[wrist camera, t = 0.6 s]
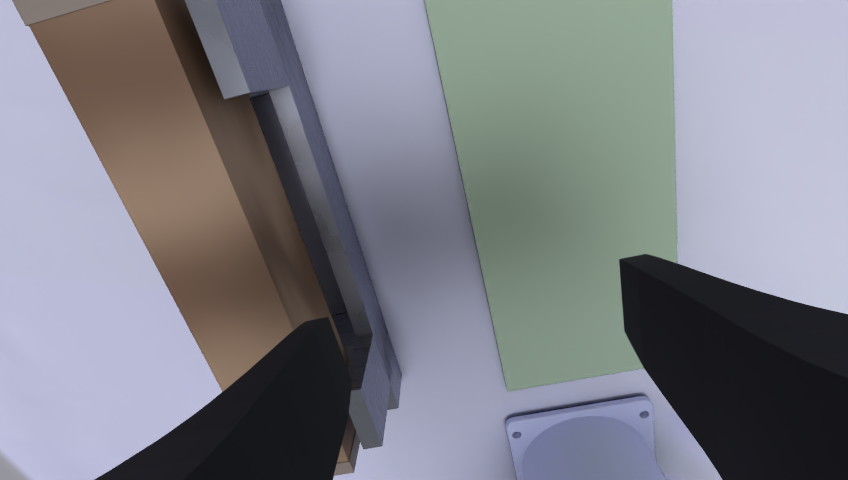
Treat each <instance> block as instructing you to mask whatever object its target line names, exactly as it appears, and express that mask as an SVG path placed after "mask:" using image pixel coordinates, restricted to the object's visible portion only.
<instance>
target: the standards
mask: <svg viewBox="0 0 848 480" xmlns="http://www.w3.org/2000/svg"><path fill="white" fill-rule="evenodd" d="M185 2H186V4H187V7H188V10H189V12H190V15H191V17H192V20H193V22H194V25H195V27H196V30H197V32H198V35H199V37H200V40H201V42H202V45H203V47H204V50H205V52H206V55H207V57H208V60H209V62H210V65H211V67H212V70H213V72H214V75H215V77H216V80H217V82H218V85H219V87H220V90H221V92H222V95H223V98H224V99H229V98H234V97H240V96H245V95H249V98H252V97H255V96H259V95H263V94H267V93H269V94H270V97H271V100H272V103H273V105H274V108H275V111H276V114H277V117H278V119H279V122H280V125H281V128H282V130H283V133H284V136H285V139H286V142H287V144H288V147H289V150H290V153H291V156H292V158H293V161H294V164H295V167H296V170H297V172H298V175H299V178H300V181H301V184H302V186H303V189H304V192H305V195H306V197H307V200H308V203H309V206H310V209H311V211H312V214H313V217H314V220H315V223H316V225H317V228H318V231H319V234H320V237H321V239H322V242H323V245H324V248H325V251H326V253H327V256H328V259H329V262H330V264H331V267H332V270H333V273H334V276H335V278H336V281H337V284H338V287H339V290H340V292H341V295H342V298H343V301H344V304H345V306H346V309H347V312H348V313H343V314H338V315H333V316H332V319H333V321H334V324H335V327H336V329H337V332H338V335H339V337H340V340H341V343H342V345H343V348H344V351H345V353H346V356H347V359H348V361H349V366H348V371H349V374H350V376H351V379H352V387H351V397H350V406H349V414H350V417H351V419H352V422H353V424H354V427H355V429H356V432H357V434H358V437H359V439H360V442H361V445H362V447H363V449H368V448H374V447H380V446H382V444H383V437H384V429H385V422H386V414H387V410H390V409H396V408H398V407H399V397H400V387H401V377H402V375H401V372H400V369H399V366H398V363H397V359H396V356H395V353H394V350H393V347H392V344H391V341H390V338H389V335H388V332H387V329H386V325H385V322H384V319H383V316H382V313H381V310H380V307H379V304H378V301H377V298H376V295H375V292H374V288H373V285H372V282H371V279H370V276H369V273H368V270H367V267H366V264H365V261H364V258H363V254H362V251H361V248H360V245H359V242H358V239H357V236H356V233H355V230H354V227H353V224H352V220H351V217H350V214H349V211H348V208H347V205H346V202H345V199H344V196H343V193H342V190H341V187H340V183H339V180H338V177H337V174H336V171H335V168H334V165H333V162H332V159H331V156H330V153H329V149H328V146H327V143H326V140H325V137H324V134H323V131H322V128H321V125H320V122H319V119H318V115H317V112H316V109H315V106H314V103H313V100H312V97H311V94H310V91H309V88H308V85H307V81H306V78H305V75H304V72H303V69H302V66H301V63H300V60H299V57H298V54H297V51H296V48H295V44H294V41H293V38H292V35H291V32H290V29H289V26H288V23H287V20H286V17H285V14H284V10H283V7H282V4H281V1H280V0H185Z"/></svg>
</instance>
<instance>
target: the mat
mask: <svg viewBox="0 0 848 480" xmlns="http://www.w3.org/2000/svg"><path fill="white" fill-rule="evenodd" d="M425 5H426V9H427V14H428V19H429V24H430V28H431V33H432V38H433V42H434V47H435V52H436V57H437V61H438V66H439V71H440V76H441V80H442V85H443V90H444V94H445V99H446V104H447V109H448V113H449V118H450V123H451V127H452V132H453V137H454V142H455V146H456V151H457V156H458V160H459V165H460V170H461V175H462V179H463V184H464V189H465V194H466V198H467V203H468V208H469V212H470V217H471V222H472V227H473V231H474V236H475V241H476V245H477V250H478V255H479V260H480V264H481V269H482V274H483V278H484V283H485V288H486V293H487V297H488V302H489V307H490V312H491V316H492V321H493V326H494V330H495V335H496V340H497V345H498V349H499V354H500V359H501V363H502V368H503V373H504V378H505V382H506V387H507V391H508V392H509V391H515V390H521V389H526V388H532V387H538V386H544V385H550V384H556V383H561V382H567V381H573V380H579V379H585V378H590V377H596V376H602V375H608V374H614V373H619V372H625V371H631V370H637V369H643V368H644V367H643V365H642V364H641V362H640V360H639V358H638V356H637V354H636V353H635V351H634V349H633V347H632V345H631V343H630V341H629V339H628V337H627V335H626V333H625V331H624V319H623V306H622V293H621V279H620V266H619V259H622V258H628V257H633V256H638V255H643V254H648V255H652V256H656V257H659V258H662V259H665V260H668V261H671V262H674V263H677V216H676V166H675V116H674V66H673V16H672V0H425Z"/></svg>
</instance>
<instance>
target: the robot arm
mask: <svg viewBox="0 0 848 480" xmlns="http://www.w3.org/2000/svg"><path fill="white" fill-rule="evenodd" d="M619 266H620V279H621V293H622V306H623V319H624V331H625V333H626V335H627V337H628V339H629V341H630V343H631V345H632V347H633V349H634V351H635V353H636V354H637V356H638V358H639V360H640V362H641V364H642V365H643V367H644V369H645V370H646V371H647V373H648V374H649V376H650V377H651V378H652V380H653V381H654V383H655V384H656V385H657V387H658V388H659V390H660V391H661V392H662V394H663V395H664V397H665V398H666V399H667V401H668V402H669V403H670V405H671V406H672V408H673V409H674V410H675V412H676V413H677V414H678V416H679V417H680V419H681V420H682V421H683V423H684V424H685V425H686V427H687V428H688V430H689V431H690V432H691V434H692V435H693V436H694V438H695V439H696V441H697V442H698V443H699V445H700V446H701V447H702V449H703V450H704V452H705V453H706V455H707V456H708V458H709V459H710V461H711V462H712V464H713V465H714V467H715V468H716V470H717V471H718V473H719V474H720V476H721V478H722V480H848V314H844V313H839V312H835V311H831V310H826V309H822V308H818V307H813V306H809V305H806V304H802V303H798V302H794V301H790V300H787V299H783V298H780V297H777V296H773V295H770V294H767V293H763V292H760V291H756V290H753V289H750V288H747V287H744V286H741V285H737V284H734V283H731V282H728V281H725V280H723V279H720V278H717V277H714V276H711V275H708V274H705V273H702V272H700V271H697V270H694V269H691V268H688V267H686V266H683V265H680V264H677V263H674V262H671V261H668V260H665V259H662V258H659V257H656V256H652V255H648V254H643V255H638V256H633V257H628V258H622V259H619ZM351 387H352V379H351V376H350V374H349V371H348V368H347V366H346V363H345V360H344V358H343V355H342V352H341V350H340V347H339V344H338V342H337V339H336V336H335V334H334V331H333V328H332V326H331V323H330V320H329V318H328V317H325V318H320V319H315V320H310V321H305V322H304V323H302V324H301V325H300V326H298V327H297V328H296V329H295V330H293V331H292V332H291V333H290V334H289V335H287V336H286V337H285V338H284V339H283V340H282V341H281V342H280V343H278V344H277V345H276V346H275V347H274V348H273V349H272V350H271V351H270V352H268V353H267V354H266V355H265V356H264V357H263V358H262V359H261V360H259V361H258V362H257V363H256V364H255V365H254V366H253V367H252V368H250V369H249V370H248V371H247V372H246V373H245V374H244V375H242V376H241V377H240V378H239V379H238V380H236V381H235V382H234V383H233V384H232V385H230V386H229V387H228V388H227V389H226V390H224V391H223V392H222V393H221V394H220V395H218V396H217V397H216V398H215V399H214V400H212V401H211V402H210V403H209V404H207V405H206V406H205V407H203V408H202V409H201V410H199V411H198V412H197V413H196V414H194V415H193V416H192V417H190V418H189V419H187V420H186V421H185V422H183V423H182V424H180V425H179V426H178V427H176V428H175V429H173V430H172V431H171V432H169V433H168V434H166V435H165V436H163V437H162V438H160V439H159V440H158V441H156V442H154V443H153V444H151V445H150V446H148V447H146V448H145V449H143V450H142V451H140V452H139V453H137V454H135V455H134V456H132V457H131V458H129V459H128V460H126V461H124V462H123V463H121V464H120V465H118V466H117V467H115V468H113V469H112V470H110V471H109V472H107V473H105V474H104V475H102V476H100V477H98V478H97V479H95V480H333V476H334V472H335V468H336V464H337V461H338V457H339V453H340V449H341V445H342V441H343V437H344V433H345V428H346V424H347V420H348V414H349V406H350V397H351ZM643 411H644V412H643ZM641 412H642V413H641ZM506 430H507V434H508V439H509V443H510V448H511V452H512V457H513V461H514V466H515V470H516V475H517V479H518V480H666V479H665V477H664V475H663V473H662V471H661V470H660V468H659V466H658V464H657V462H656V456H655V437H654V417H653V404H652V402H651V401H650V399H649V398H648V397H646V396H638V397H632V398H626V399H620V400H614V401H608V402H602V403H596V404H590V405H584V406H578V407H572V408H565V409H559V410H553V411H547V412H541V413H535V414H529V415H523V416H517V417H512V418H509V419H508V420H507V421H506ZM514 432H518V433H514Z"/></svg>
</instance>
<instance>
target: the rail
mask: <svg viewBox="0 0 848 480" xmlns="http://www.w3.org/2000/svg"><path fill="white" fill-rule="evenodd" d="M12 1H13V3H14V5H15V7H16V9H17V11H18V12H19V14H20V16H21V18H22V20H23V22H24V24H25V26H30V28H31V30H32V32H33V34H34V36H35V38H36V40H37V42H38V43H39V45H40V47H41V49H42V51H43V53H44V55H45V57H46V59H47V60H48V62H49V64H50V66H51V68H52V70H53V72H54V74H55V76H56V77H57V79H58V81H59V83H60V85H61V87H62V89H63V91H64V93H65V95H66V96H67V98H68V100H69V102H70V104H71V106H72V108H73V110H74V112H75V113H76V115H77V117H78V119H79V121H80V123H81V125H82V127H83V129H84V130H85V132H86V134H87V136H88V138H89V140H90V142H91V144H92V146H93V147H94V149H95V151H96V153H97V155H98V157H99V159H100V161H101V163H102V164H103V166H104V168H105V170H106V172H107V174H108V176H109V178H110V180H111V182H112V183H113V185H114V187H115V189H116V191H117V193H118V195H119V197H120V199H121V200H122V202H123V204H124V206H125V208H126V210H127V212H128V214H129V216H130V217H131V219H132V221H133V223H134V225H135V227H136V229H137V231H138V233H139V234H140V236H141V238H142V240H143V242H144V244H145V246H146V248H147V250H148V251H149V253H150V255H151V257H152V259H153V261H154V263H155V265H156V267H157V268H158V270H159V272H160V274H161V276H162V278H163V280H164V282H165V284H166V286H167V287H168V289H169V291H170V293H171V295H172V297H173V299H174V301H175V303H176V304H177V306H178V308H179V310H180V312H181V314H182V316H183V318H184V320H185V321H186V323H187V325H188V327H189V329H190V331H191V333H192V335H193V337H194V338H195V340H196V342H197V344H198V346H199V348H200V350H201V352H202V354H203V355H204V357H205V359H206V361H207V363H208V365H209V367H210V369H211V371H212V372H213V374H214V376H215V378H216V380H217V382H218V384H219V386H220V388H221V390H222V391H224V390H226V389H227V388H228V387H229V386H230V385H232V384H233V383H234V382H235V381H236V380H238V379H239V378H240V377H241V376H242V375H244V374H245V373H246V372H247V371H248V370H249V369H250V368H252V367H253V366H254V365H255V364H256V363H257V362H258V361H259V360H261V359H262V358H263V357H264V356H265V355H266V354H267V353H268V352H270V351H271V350H272V349H273V348H274V347H275V346H276V345H277V344H278V343H280V342H281V341H282V340H283V339H284V338H285V337H286V336H287V335H289V334H290V333H291V332H292V331H293V330H295V329H296V328H297V327H298V326H300V325H301V324H302V323H304V322H305V321H310V320H315V319H320V318H325V317H328V318H329V320H330V323H331V326H332V328H333V331H334V334H335V336H336V339H337V342H338V344H339V347H340V350H341V352H342V355H343V358H344V360H345V363H346V366H347V368H348V366H349V361H348V359H347V356H346V353H345V351H344V348H343V345H342V343H341V340H340V337H339V335H338V332H337V329H336V327H335V324H334V321H333V319H332V316H331V313H330V311H329V308H328V305H327V303H326V300H325V297H324V295H323V292H322V289H321V287H320V284H319V282H318V279H317V276H316V274H315V271H314V268H313V266H312V263H311V260H310V258H309V255H308V252H307V250H306V247H305V244H304V242H303V239H302V236H301V234H300V231H299V228H298V226H297V223H296V220H295V218H294V215H293V212H292V210H291V207H290V204H289V202H288V199H287V196H286V194H285V191H284V188H283V186H282V183H281V180H280V178H279V175H278V172H277V170H276V167H275V165H274V162H273V159H272V157H271V154H270V151H269V149H268V146H267V143H266V141H265V138H264V135H263V133H262V130H261V127H260V125H259V122H258V119H257V117H256V114H255V111H254V109H253V106H252V103H251V101H250V98H249V95H245V96H240V97H234V98H229V99H224V98H223V95H222V92H221V90H220V87H219V85H218V82H217V80H216V77H215V75H214V72H213V70H212V67H211V65H210V62H209V60H208V57H207V55H206V52H205V50H204V47H203V45H202V42H201V40H200V37H199V35H198V32H197V30H196V27H195V25H194V22H193V20H192V17H191V15H190V12H189V10H188V7H187V4H186V2H185V0H12ZM359 444H360V439H359V437H358V434H357V432H356V429H355V427H354V424H353V422H352V419H351V417H350V414H348V420H347V424H346V428H345V433H344V437H343V441H342V445H341V449H340V453H339V457H338V461H337V464H336V468H335V472H334V476H335V475H341V474H347V473H354V470H355V464H356V459H357V454H358V449H359Z"/></svg>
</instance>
